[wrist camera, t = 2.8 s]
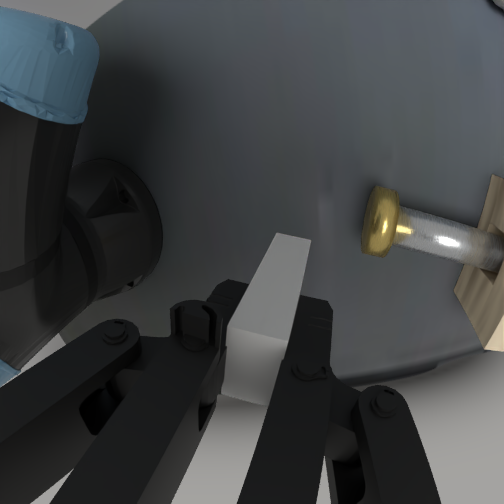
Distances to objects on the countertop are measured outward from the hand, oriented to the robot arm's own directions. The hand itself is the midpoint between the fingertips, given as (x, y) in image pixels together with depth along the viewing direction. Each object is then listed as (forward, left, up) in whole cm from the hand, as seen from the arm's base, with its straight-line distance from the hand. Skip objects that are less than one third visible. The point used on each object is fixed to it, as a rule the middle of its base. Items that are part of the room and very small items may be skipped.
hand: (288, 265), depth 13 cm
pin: (+11, 0, -12) cm, 17 cm away
